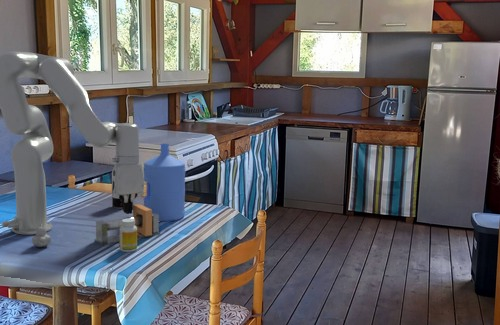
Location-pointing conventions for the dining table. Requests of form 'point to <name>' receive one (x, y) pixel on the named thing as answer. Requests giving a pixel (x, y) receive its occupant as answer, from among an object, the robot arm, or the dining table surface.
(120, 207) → the beverage can
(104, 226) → the pipe rig
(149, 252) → the dining table surface
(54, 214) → the dining table surface
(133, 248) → the supplement bottle
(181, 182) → the water jug
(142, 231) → the collar
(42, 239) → the grey figurine
